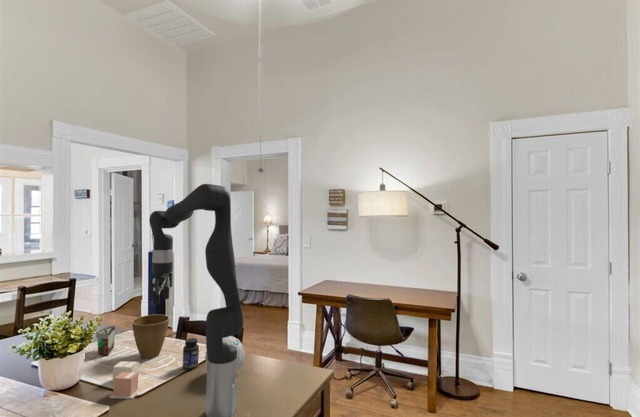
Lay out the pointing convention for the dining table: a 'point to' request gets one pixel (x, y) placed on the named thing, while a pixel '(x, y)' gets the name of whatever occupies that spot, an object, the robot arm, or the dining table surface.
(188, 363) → the pill bottle
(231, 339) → the puzzle ball
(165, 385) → the dining table surface
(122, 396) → the mat
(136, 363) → the cream rounded block
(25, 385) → the dining table surface
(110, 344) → the food container
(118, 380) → the pink block
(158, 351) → the plant pot
